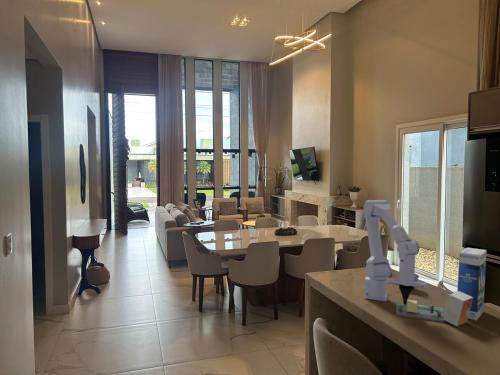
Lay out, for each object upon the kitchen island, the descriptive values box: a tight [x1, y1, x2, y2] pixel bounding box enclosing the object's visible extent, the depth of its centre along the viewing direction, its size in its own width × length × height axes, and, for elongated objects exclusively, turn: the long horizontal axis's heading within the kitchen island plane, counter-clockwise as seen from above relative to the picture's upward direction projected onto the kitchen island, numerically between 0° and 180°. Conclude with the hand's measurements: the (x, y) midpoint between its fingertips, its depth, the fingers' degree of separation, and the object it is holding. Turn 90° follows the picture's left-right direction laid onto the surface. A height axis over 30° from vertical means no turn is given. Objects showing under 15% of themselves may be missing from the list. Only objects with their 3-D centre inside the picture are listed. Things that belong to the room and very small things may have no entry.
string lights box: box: [456, 247, 487, 321], centre depth 147 cm, size 13×8×26 cm, turn 137°
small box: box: [443, 291, 473, 328], centre depth 138 cm, size 8×6×10 cm
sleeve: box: [406, 299, 418, 313], centre depth 146 cm, size 4×4×4 cm
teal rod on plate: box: [395, 301, 446, 323], centre depth 145 cm, size 17×8×5 cm, turn 69°
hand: (405, 303), depth 147 cm, fingers closed, pressing on teal rod on plate
